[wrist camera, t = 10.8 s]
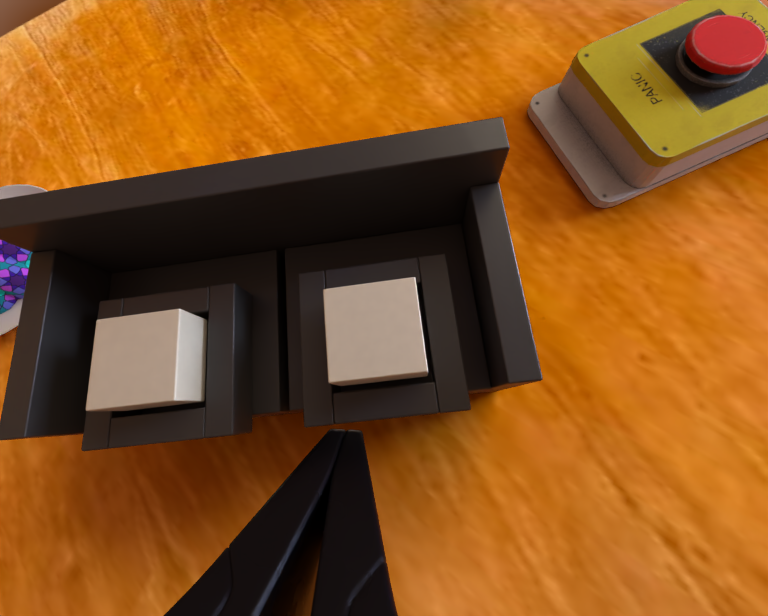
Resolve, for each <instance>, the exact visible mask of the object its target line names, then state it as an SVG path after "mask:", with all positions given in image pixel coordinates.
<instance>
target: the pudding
mask: <svg viewBox="0 0 768 616" xmlns="http://www.w3.org/2000/svg"><path fill="white" fill-rule="evenodd" d="M41 192H47V190H45V189H43V188H40V187H36V186H32V185H20V184H18V185H9V186H4V187H0V199H5V198H11V197H17V196H23V195H29V194H35V193H41ZM31 254H32V252H30V251H27V250H25V249H22V248H20V247H17V246H15V245H12V244H10V243H7V242H5V241H2V240H0V335H2V334H5V333H7V332H8V331H10V330H12V329H13V328H15V327H17V326H18V323H19V318H20V313H21V307H22V302H23V296H24V291H25V286H26V280H27V275H28V269H29V264H30V258H31Z"/></svg>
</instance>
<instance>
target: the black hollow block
mask: <svg viewBox="0 0 768 616" xmlns="http://www.w3.org/2000/svg"><path fill="white" fill-rule="evenodd" d="M509 148H510V146H509V142H508V138H507V134H506V130H505V126H504V121H503V118H502V117H498V118H492V119H486V120H480V121H474V122H467V123H461V124H455V125H449V126H443V127H437V128H431V129H425V130H419V131H413V132H407V133H400V134H394V135H388V136H382V137H376V138H370V139H364V140H358V141H352V142H346V143H340V144H334V145H327V146H321V147H315V148H309V149H303V150H297V151H291V152H285V153H279V154H273V155H267V156H260V157H254V158H248V159H242V160H236V161H230V162H224V163H218V164H212V165H206V166H200V167H193V168H187V169H181V170H175V171H169V172H163V173H157V174H151V175H145V176H139V177H133V178H126V179H120V180H114V181H108V182H102V183H96V184H90V185H84V186H78V187H72V188H66V189H59V190H53V191H47V192H41V193H35V194H29V195H23V196H17V197H11V198H5V199H0V240H2V241H5V242H7V243H10V244H12V245H15V246H17V247H20V248H22V249H25V250H27V251H30V252H32V254H31V258H30V264H29V269H28V275H27V280H26V286H25V291H24V296H23V302H22V307H21V313H20V318H19V323H18V329H17V334H16V340H15V345H14V350H13V356H12V361H11V367H10V372H9V377H8V383H7V388H6V394H5V399H4V404H3V410H2V415H1V421H0V440H12V439H25V438H39V437H52V436H65V435H78V434H84V426H85V418H86V402H87V394H88V386H89V378H90V370H91V361H92V353H93V345H94V337H95V329H96V321H97V320H98V311H99V303H100V301H106V300H109V293H110V285H111V276H112V273H118V272H125V271H132V270H139V269H146V268H153V267H160V266H167V265H174V264H181V263H188V262H195V261H202V260H208V259H215V258H222V257H229V256H236V255H243V254H250V253H257V252H264V251H271V250H277V251H278V252H279V253H280V254H281V255H282V257H283V258H284V259H285V249H286V248H293V247H300V246H307V245H314V244H321V243H328V242H335V241H342V240H349V239H356V238H363V237H370V236H376V235H383V234H390V233H397V232H404V231H411V230H418V229H425V228H432V227H439V226H446V225H453V224H462V227H463V232H464V238H465V243H466V249H467V254H468V260H469V265H470V271H471V276H472V281H473V287H474V292H475V298H476V303H477V309H478V314H479V320H480V325H481V331H482V336H483V342H484V347H485V352H486V358H487V363H488V369H489V374H490V380H491V385H492V387H491V389H488V390H485V391H481V392H478V393H483V392H492V391H499V390H503V389H507V388H511V387H516V386H520V385H524V384H528V383H532V382H537V381H541V380H542V374H541V369H540V365H539V360H538V356H537V351H536V347H535V342H534V338H533V333H532V329H531V324H530V320H529V315H528V311H527V306H526V302H525V297H524V293H523V288H522V284H521V280H520V275H519V271H518V266H517V262H516V257H515V253H514V248H513V244H512V239H511V235H510V230H509V226H508V221H507V217H506V212H505V208H504V203H503V199H502V194H501V190H500V185H499V183H498V182H499V179H500V176H501V172H502V169H503V166H504V163H505V160H506V157H507V154H508V151H509Z"/></svg>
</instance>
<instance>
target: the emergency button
mask: <svg viewBox="0 0 768 616" xmlns="http://www.w3.org/2000/svg"><path fill="white" fill-rule="evenodd" d="M527 112H528V115H529V117H530V119H531V120H532V122H533V123H534V124H535V126H536V127H537V129H538V130H539V131H540V133H541V134H542V136H543V137H544V139H545V140H546V141H547V143H548V144H549V146H550V147H551V148H552V150H553V151H554V153H555V154H556V156H557V157H558V158H559V160H560V161H561V163H562V164H563V165H564V167H565V168H566V170H567V171H568V172H569V174H570V175H571V177H572V178H573V180H574V181H575V182H576V184H577V185H578V187H579V188H580V189H581V191H582V192H583V194H584V195H585V197H586V198H587V199H588V201H589V202H590V203H592V204H593V205H594V206H595V207H600V208H608V207H613V206H616V205H618V204H620V203H622V202H625V201H627V200H629V199H631V198H634V197H636V196H638V195H640V194H642V193H645V192H647V191H649V190H651V189H654V188H656V187H658V186H660V185H663V184H665V183H667V182H669V181H671V180H674V179H676V178H678V177H680V176H683V175H685V174H687V173H689V172H692V171H694V170H696V169H698V168H701V167H703V166H705V165H707V164H709V163H712V162H714V161H716V160H718V159H721V158H723V157H725V156H727V155H730V154H732V153H734V152H736V151H739V150H741V149H743V148H745V147H747V146H750V145H752V144H754V143H756V142H759V141H761V140H763V139H765V138H768V8H767V7H766V6H765V5H764V4H763V3H762V2H761V1H759V0H689V1H687V2H684V3H682V4H680V5H678V6H675V7H673V8H671V9H668V10H666V11H664V12H662V13H659V14H657V15H655V16H653V17H650V18H648V19H646V20H643V21H641V22H639V23H637V24H634V25H632V26H630V27H628V28H625V29H623V30H621V31H618V32H616V33H614V34H612V35H609V36H607V37H605V38H603V39H600V40H598V41H596V42H593V43H591V44H589V45H587V46H584V47H583V48H582V49H580V50H579V51H578V53H577V54H576V56H575V58H574V59H573V61H572V64H571V66H570V68H569V69H568V71H567V73H566V75H565V77H564V78H563V80H562V82H561V83H559V84H557V85H554V86H552V87H550V88H548V89H545V90H543V91H541V92H539V93H538V94H536V95H535V96H533V98H532V100H531V102H530V105H529V107H528V110H527Z"/></svg>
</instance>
